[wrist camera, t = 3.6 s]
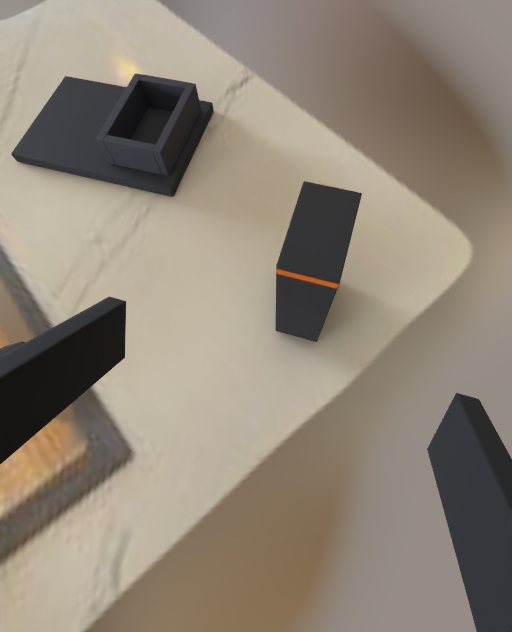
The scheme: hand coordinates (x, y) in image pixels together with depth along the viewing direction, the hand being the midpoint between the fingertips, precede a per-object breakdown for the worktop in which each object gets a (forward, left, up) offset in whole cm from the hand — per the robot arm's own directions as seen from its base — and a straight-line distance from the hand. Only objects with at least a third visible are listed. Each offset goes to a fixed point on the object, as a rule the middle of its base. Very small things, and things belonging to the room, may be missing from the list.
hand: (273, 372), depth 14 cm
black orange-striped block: (+7, -6, -14) cm, 17 cm away
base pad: (+33, +2, -14) cm, 36 cm away
